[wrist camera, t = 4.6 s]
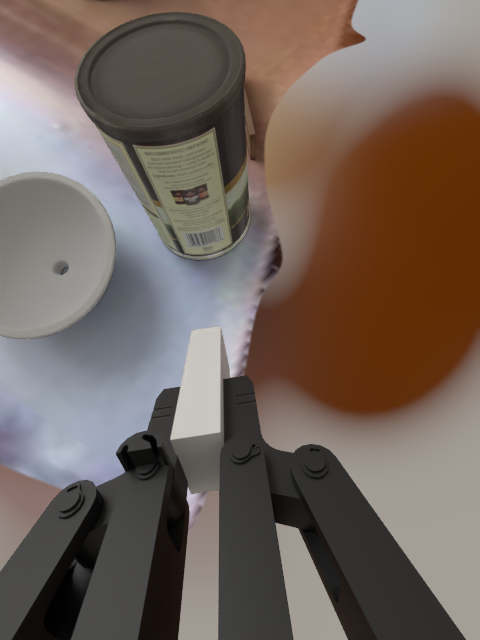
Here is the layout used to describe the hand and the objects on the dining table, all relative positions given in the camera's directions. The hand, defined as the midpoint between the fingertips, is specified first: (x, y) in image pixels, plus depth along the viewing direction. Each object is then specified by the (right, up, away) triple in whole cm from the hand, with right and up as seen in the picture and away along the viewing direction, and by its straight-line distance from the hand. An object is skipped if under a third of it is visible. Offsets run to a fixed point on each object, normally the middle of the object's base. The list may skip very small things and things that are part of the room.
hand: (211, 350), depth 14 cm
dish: (-17, +7, +14) cm, 23 cm away
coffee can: (-3, +13, +15) cm, 20 cm away
